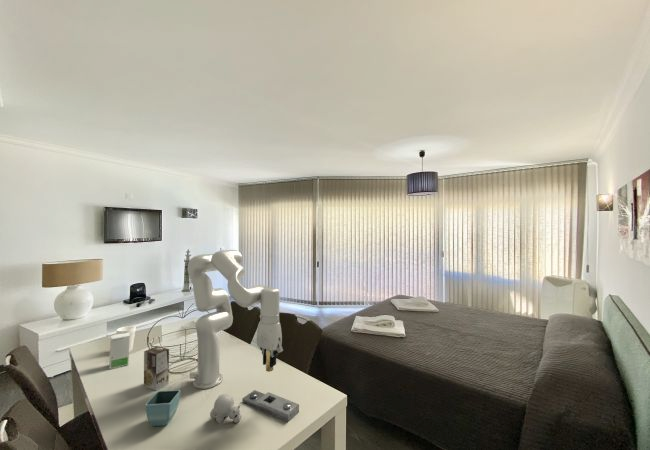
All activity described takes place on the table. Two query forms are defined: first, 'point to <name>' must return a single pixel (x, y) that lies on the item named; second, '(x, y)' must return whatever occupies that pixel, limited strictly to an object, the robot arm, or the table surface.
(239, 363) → the table surface
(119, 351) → the skincare box
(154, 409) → the flower pot
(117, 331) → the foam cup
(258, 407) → the grey flat bar
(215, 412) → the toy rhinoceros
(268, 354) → the pin
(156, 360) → the coffee box
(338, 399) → the table surface
